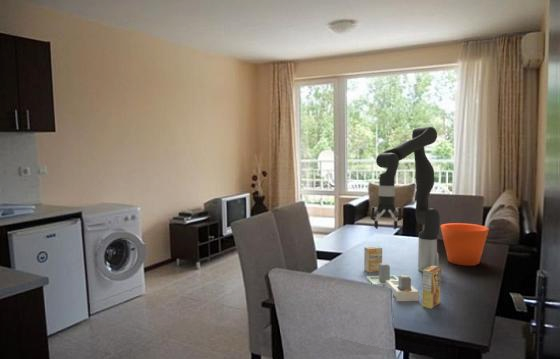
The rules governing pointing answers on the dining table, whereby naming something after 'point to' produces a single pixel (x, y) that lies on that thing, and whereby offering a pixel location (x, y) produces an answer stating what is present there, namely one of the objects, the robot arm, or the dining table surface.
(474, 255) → the flowerpot
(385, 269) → the plug
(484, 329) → the dining table surface
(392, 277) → the tray
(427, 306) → the candy box
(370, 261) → the supplement box
